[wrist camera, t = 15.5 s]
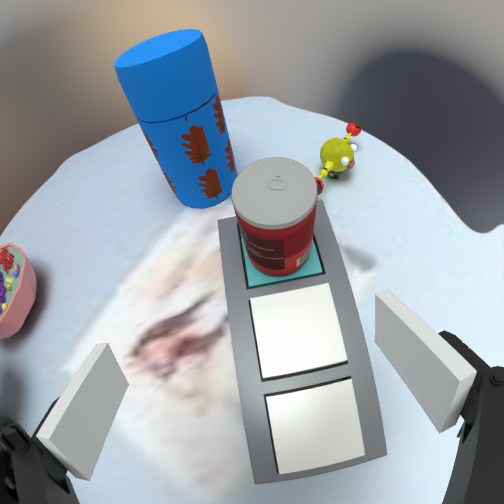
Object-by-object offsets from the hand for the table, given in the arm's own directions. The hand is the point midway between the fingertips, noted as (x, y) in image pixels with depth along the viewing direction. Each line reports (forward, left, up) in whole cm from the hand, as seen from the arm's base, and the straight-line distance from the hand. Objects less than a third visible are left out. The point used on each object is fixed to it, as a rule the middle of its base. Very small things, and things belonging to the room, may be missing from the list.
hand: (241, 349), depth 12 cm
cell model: (-44, +15, -21) cm, 51 cm away
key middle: (+4, +4, -19) cm, 20 cm away
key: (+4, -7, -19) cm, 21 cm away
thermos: (-5, +31, -21) cm, 38 cm away
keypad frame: (+4, +4, -21) cm, 22 cm away
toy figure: (+16, +28, -21) cm, 38 cm away
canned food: (+4, +14, -17) cm, 23 cm away
